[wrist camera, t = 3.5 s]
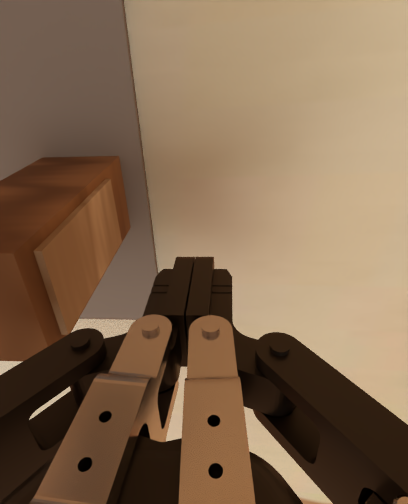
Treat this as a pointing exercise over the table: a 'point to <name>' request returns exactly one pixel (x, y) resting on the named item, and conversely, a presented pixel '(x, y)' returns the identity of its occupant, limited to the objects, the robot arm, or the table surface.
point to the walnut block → (55, 246)
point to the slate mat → (79, 120)
